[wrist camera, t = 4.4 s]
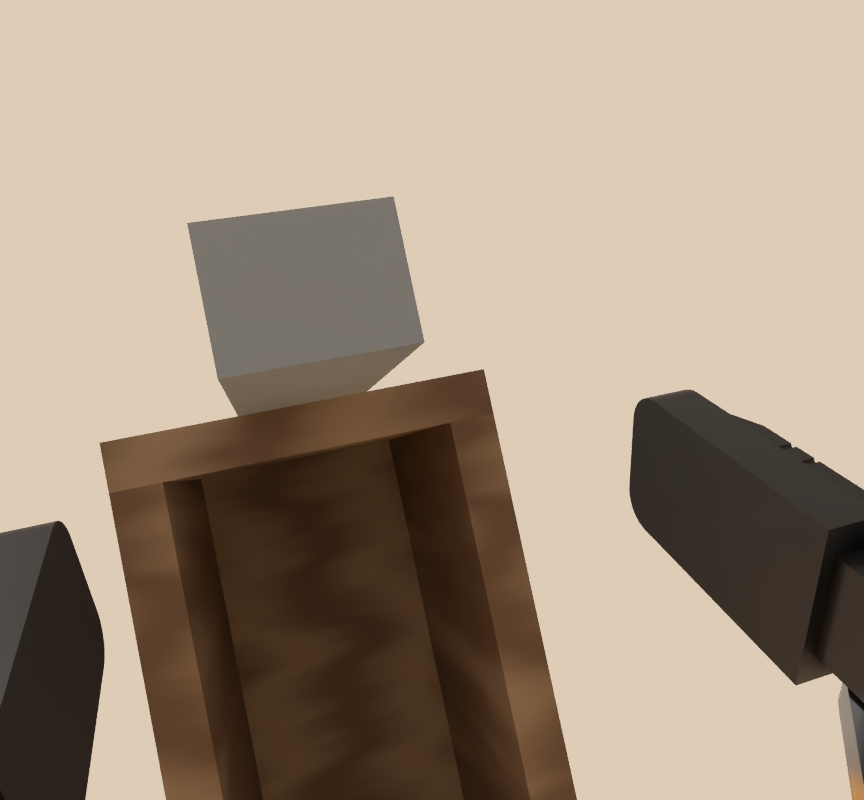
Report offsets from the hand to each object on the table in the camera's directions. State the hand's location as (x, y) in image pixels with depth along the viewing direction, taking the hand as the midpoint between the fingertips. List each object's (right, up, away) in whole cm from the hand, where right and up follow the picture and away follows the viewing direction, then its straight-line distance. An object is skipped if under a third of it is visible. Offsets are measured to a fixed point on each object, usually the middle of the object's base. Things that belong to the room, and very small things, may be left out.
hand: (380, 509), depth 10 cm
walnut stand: (+1, -29, +18) cm, 34 cm away
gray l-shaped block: (-4, +1, +14) cm, 15 cm away
